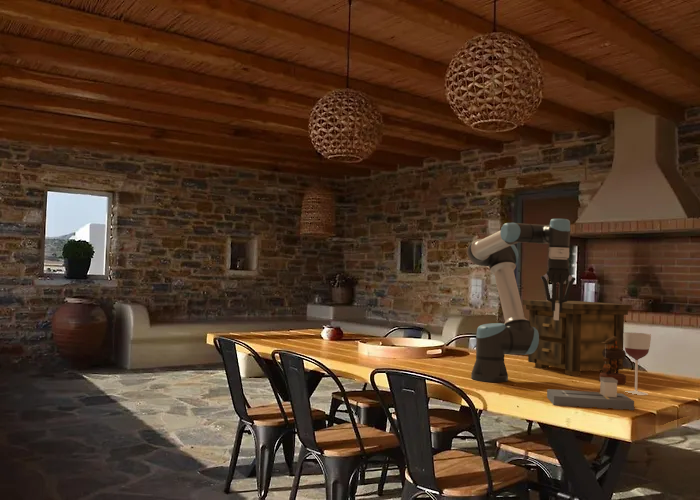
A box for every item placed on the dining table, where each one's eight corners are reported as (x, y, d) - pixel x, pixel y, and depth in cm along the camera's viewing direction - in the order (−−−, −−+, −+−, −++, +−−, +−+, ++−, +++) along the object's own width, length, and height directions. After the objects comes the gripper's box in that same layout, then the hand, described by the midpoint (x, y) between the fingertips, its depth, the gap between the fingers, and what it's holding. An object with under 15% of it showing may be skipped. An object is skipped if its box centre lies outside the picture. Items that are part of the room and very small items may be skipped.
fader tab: (604, 396, 216) (604, 379, 216) (599, 393, 222) (599, 376, 222) (617, 397, 215) (617, 380, 215) (612, 394, 222) (612, 377, 222)
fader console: (553, 405, 215) (553, 395, 215) (547, 397, 228) (547, 388, 228) (634, 410, 211) (634, 400, 211) (622, 402, 225) (622, 393, 225)
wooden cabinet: (630, 375, 292) (631, 304, 294) (571, 377, 279) (573, 303, 280) (576, 364, 325) (577, 301, 326) (521, 365, 311) (522, 299, 312)
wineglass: (617, 390, 249) (618, 332, 250) (641, 391, 250) (642, 332, 251) (629, 394, 240) (631, 334, 241) (654, 395, 241) (656, 335, 241)
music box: (618, 385, 260) (615, 337, 262) (593, 383, 269) (590, 336, 271) (635, 382, 270) (631, 335, 272) (610, 380, 279) (607, 335, 281)
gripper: (542, 258, 240) (540, 319, 240) (578, 259, 238) (575, 321, 238) (539, 258, 247) (537, 318, 247) (574, 259, 245) (571, 320, 245)
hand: (556, 319), depth 243 cm, fingers closed
